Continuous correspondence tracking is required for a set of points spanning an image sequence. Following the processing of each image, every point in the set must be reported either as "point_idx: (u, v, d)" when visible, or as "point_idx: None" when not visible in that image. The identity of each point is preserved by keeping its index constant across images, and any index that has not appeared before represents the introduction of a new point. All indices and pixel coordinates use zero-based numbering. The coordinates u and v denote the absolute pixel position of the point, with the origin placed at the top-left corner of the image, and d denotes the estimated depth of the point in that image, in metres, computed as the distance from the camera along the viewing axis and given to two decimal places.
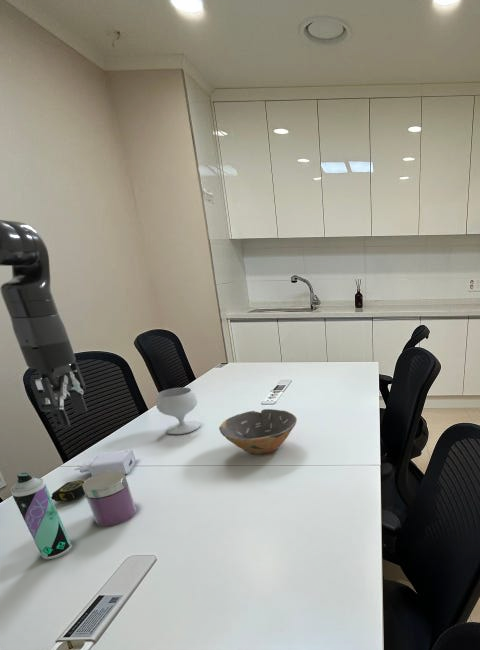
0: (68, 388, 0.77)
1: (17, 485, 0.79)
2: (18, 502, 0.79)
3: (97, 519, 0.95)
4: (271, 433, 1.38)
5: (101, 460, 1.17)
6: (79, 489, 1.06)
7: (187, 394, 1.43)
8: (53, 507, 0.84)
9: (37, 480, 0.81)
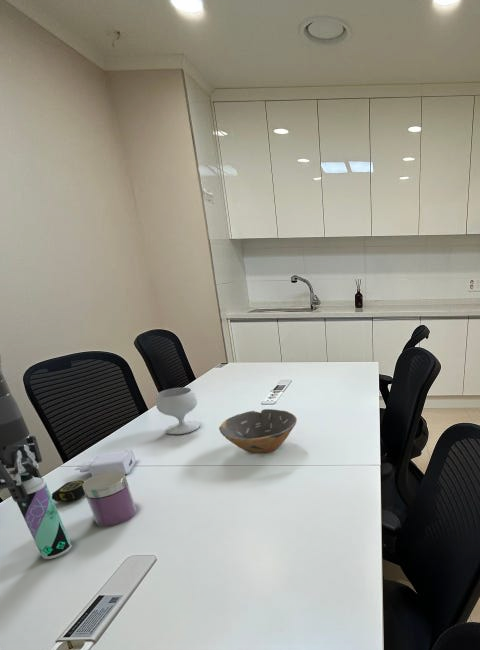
0: (22, 461, 0.79)
1: None
2: None
3: (97, 519, 0.95)
4: (271, 433, 1.38)
5: (102, 460, 1.17)
6: (79, 489, 1.06)
7: (187, 394, 1.43)
8: (53, 507, 0.84)
9: (38, 479, 0.81)
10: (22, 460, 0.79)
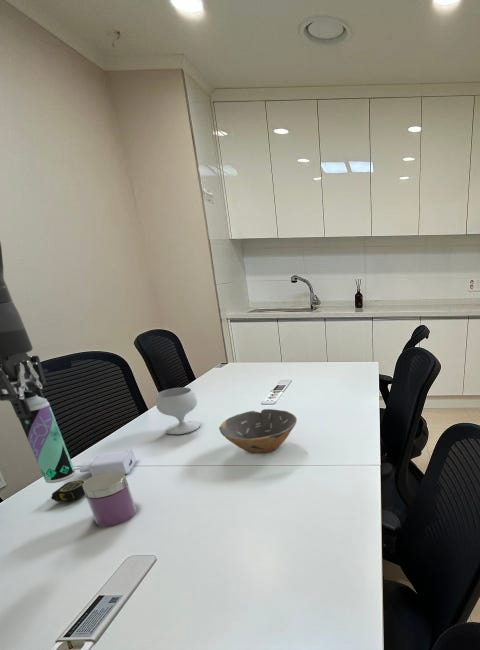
0: (25, 377, 0.77)
1: None
2: (22, 418, 0.78)
3: (97, 519, 0.95)
4: (271, 433, 1.38)
5: (102, 460, 1.17)
6: (79, 489, 1.06)
7: (187, 394, 1.43)
8: (57, 429, 0.82)
9: (41, 398, 0.80)
10: (25, 376, 0.77)
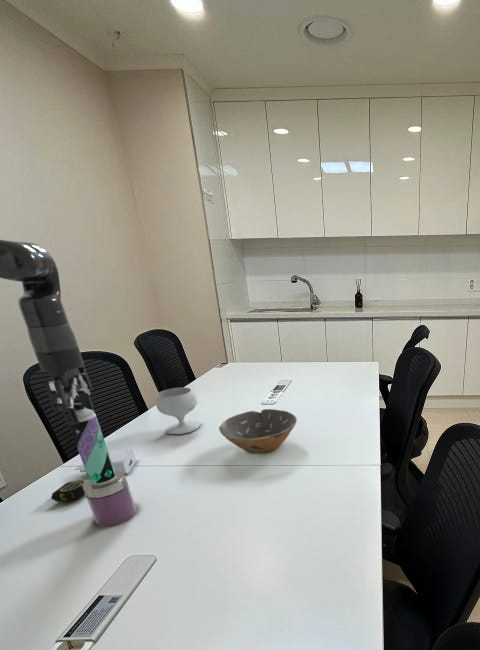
0: (77, 389, 0.86)
1: None
2: (73, 428, 0.87)
3: (97, 519, 0.95)
4: (271, 433, 1.38)
5: None
6: (79, 489, 1.06)
7: (187, 394, 1.43)
8: (102, 437, 0.91)
9: (89, 410, 0.89)
10: (77, 388, 0.86)
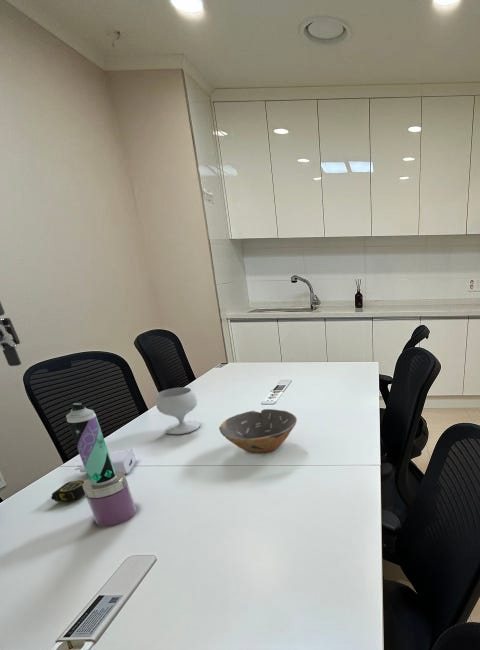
0: None
1: (72, 413, 0.86)
2: (73, 428, 0.87)
3: (97, 519, 0.95)
4: (271, 433, 1.38)
5: None
6: (79, 489, 1.06)
7: (187, 394, 1.43)
8: (102, 437, 0.91)
9: (89, 410, 0.89)
10: None
